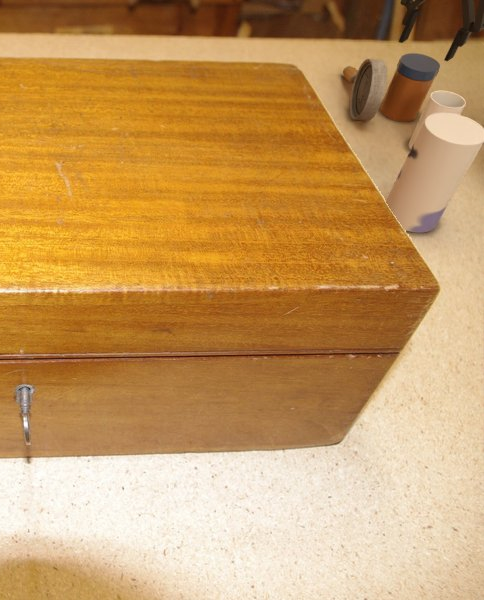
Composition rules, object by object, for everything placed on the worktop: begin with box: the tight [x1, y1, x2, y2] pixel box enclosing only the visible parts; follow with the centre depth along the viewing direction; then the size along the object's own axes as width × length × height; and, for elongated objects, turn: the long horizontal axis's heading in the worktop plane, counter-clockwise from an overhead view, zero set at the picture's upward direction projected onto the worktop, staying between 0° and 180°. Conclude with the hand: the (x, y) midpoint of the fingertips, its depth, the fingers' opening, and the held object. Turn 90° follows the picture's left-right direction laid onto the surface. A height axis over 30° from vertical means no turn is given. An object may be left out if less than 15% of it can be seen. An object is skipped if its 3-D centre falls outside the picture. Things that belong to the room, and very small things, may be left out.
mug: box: [408, 89, 467, 151], centre depth 148 cm, size 10×7×12 cm, turn 166°
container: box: [385, 113, 484, 233], centre depth 128 cm, size 10×10×20 cm
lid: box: [396, 52, 441, 81], centre depth 153 cm, size 8×8×2 cm
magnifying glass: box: [342, 58, 388, 122], centre depth 160 cm, size 13×3×25 cm
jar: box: [379, 68, 435, 123], centre depth 157 cm, size 8×8×12 cm
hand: (425, 49), depth 150 cm, fingers open, 10 cm apart
